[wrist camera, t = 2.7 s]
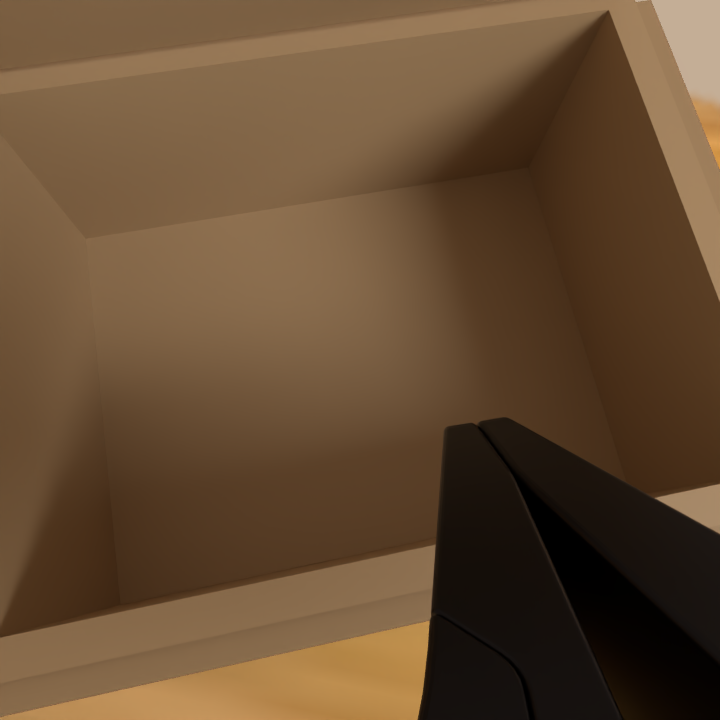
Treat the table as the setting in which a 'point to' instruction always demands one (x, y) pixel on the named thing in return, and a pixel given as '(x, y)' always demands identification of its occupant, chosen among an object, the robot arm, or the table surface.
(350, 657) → the table surface
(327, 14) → the carton flap
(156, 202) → the shipping carton
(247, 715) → the table surface
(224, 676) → the table surface
